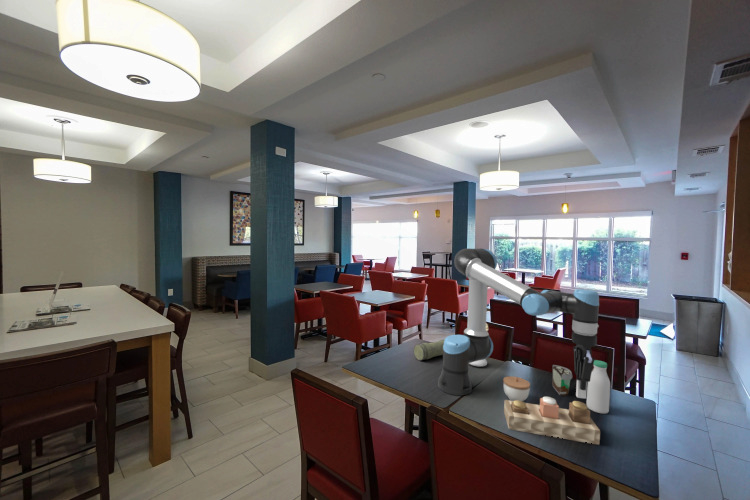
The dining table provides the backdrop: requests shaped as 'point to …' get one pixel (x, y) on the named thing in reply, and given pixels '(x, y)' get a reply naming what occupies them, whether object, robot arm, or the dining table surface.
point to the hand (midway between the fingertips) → (580, 397)
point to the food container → (561, 379)
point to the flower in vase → (480, 362)
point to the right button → (579, 412)
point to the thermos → (428, 350)
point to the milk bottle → (598, 389)
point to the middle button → (549, 407)
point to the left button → (519, 407)
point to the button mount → (551, 424)
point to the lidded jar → (516, 388)
